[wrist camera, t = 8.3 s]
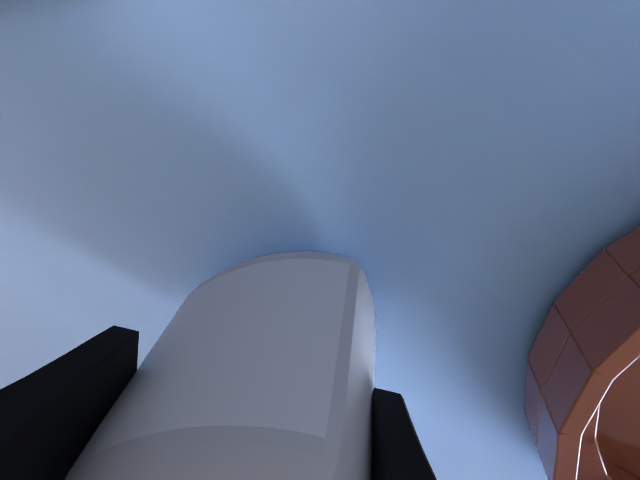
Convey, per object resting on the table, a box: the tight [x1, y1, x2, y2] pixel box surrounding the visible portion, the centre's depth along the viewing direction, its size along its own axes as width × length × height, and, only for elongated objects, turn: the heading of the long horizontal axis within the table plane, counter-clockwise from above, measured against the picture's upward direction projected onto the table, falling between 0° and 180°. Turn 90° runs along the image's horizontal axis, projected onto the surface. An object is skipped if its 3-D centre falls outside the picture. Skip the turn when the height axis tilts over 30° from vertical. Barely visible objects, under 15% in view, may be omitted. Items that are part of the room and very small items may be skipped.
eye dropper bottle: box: [65, 252, 376, 480], centre depth 10 cm, size 4×6×12 cm
